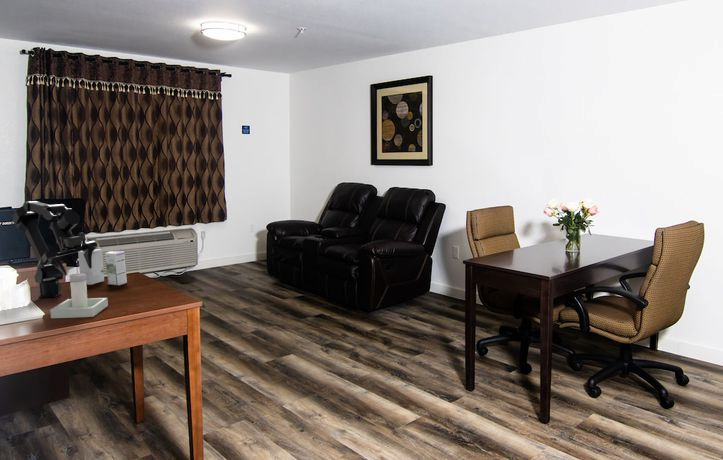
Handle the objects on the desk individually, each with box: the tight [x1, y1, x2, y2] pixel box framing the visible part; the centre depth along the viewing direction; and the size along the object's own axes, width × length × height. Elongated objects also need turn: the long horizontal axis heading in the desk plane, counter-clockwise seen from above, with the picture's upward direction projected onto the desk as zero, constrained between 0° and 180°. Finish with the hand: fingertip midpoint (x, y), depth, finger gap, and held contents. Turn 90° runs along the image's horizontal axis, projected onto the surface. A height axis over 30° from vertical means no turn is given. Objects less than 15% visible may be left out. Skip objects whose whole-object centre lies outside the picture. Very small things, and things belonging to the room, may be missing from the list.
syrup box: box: [105, 250, 128, 286], centre depth 231 cm, size 6×6×14 cm
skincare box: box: [77, 248, 105, 286], centre depth 234 cm, size 8×6×15 cm
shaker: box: [69, 272, 88, 308], centre depth 188 cm, size 5×5×13 cm
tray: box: [49, 297, 109, 319], centre depth 189 cm, size 14×14×3 cm
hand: (78, 271), depth 200 cm, fingers open, 9 cm apart
